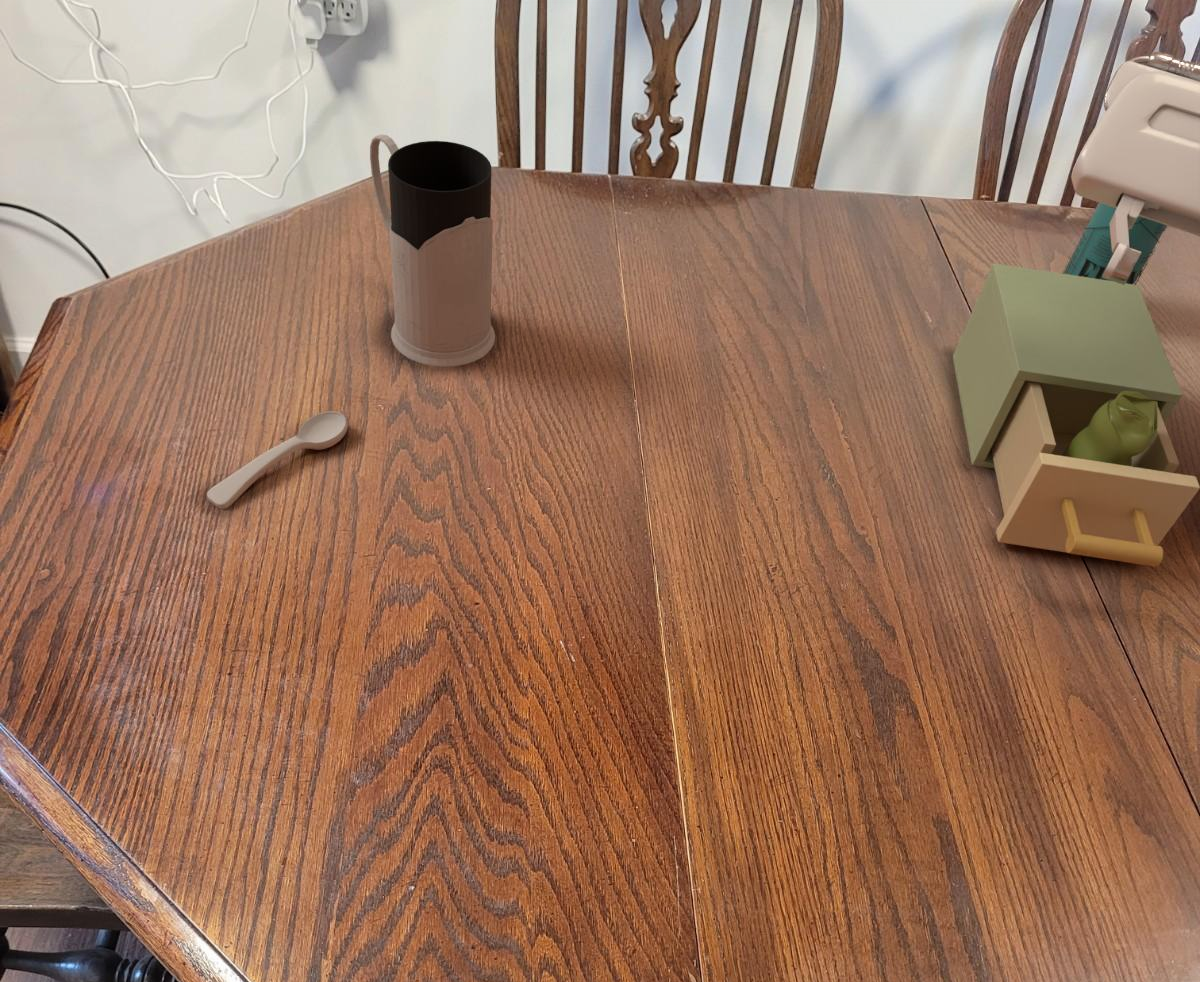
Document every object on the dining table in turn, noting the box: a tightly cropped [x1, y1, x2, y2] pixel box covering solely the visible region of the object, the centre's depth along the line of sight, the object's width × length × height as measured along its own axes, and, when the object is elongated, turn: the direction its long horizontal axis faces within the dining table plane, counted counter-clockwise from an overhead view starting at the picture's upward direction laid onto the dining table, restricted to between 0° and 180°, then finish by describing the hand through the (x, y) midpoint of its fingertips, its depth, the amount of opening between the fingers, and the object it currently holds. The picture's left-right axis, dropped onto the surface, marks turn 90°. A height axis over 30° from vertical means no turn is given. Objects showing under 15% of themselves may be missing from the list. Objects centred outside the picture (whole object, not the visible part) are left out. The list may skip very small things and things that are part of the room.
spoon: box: [206, 410, 349, 510], centre depth 75 cm, size 3×12×2 cm, turn 141°
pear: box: [1062, 391, 1158, 467], centre depth 75 cm, size 6×5×10 cm
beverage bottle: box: [1061, 202, 1168, 285], centre depth 93 cm, size 6×7×20 cm
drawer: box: [991, 380, 1200, 567], centre depth 77 cm, size 18×11×8 cm, turn 173°
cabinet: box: [952, 262, 1183, 470], centre depth 85 cm, size 15×12×10 cm
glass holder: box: [369, 134, 496, 368], centre depth 83 cm, size 9×14×15 cm, turn 39°
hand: (1189, 305), depth 65 cm, fingers open, 8 cm apart
